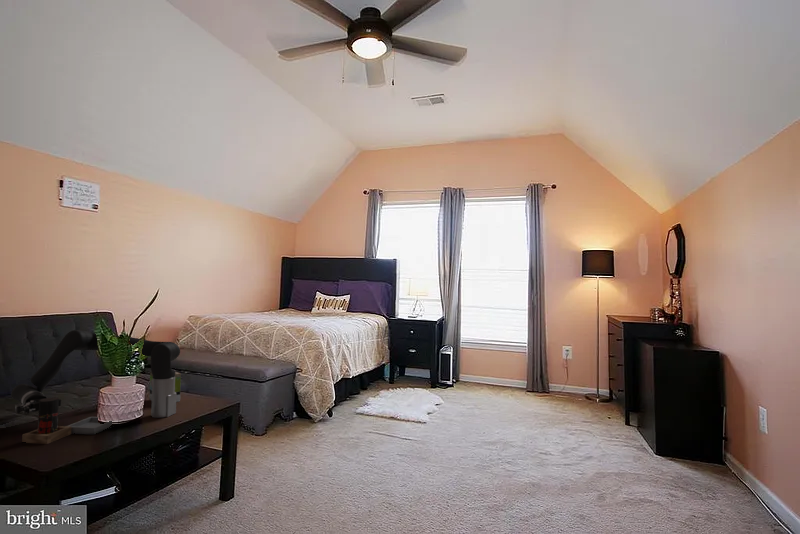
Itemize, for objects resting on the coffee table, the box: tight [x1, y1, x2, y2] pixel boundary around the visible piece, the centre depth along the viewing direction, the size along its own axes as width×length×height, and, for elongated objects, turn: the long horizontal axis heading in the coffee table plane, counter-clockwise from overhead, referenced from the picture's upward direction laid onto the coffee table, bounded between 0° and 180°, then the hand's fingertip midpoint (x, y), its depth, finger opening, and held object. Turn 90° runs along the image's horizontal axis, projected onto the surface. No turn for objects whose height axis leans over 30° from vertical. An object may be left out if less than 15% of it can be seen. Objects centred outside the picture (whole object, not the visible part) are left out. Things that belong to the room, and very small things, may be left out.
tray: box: [67, 416, 112, 435], centre depth 176 cm, size 13×13×2 cm
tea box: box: [148, 371, 182, 403], centre depth 218 cm, size 15×10×15 cm, turn 50°
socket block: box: [21, 425, 72, 445], centre depth 164 cm, size 10×10×3 cm
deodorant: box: [37, 396, 60, 434], centre depth 164 cm, size 6×6×15 cm
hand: (42, 408), depth 171 cm, fingers open, 8 cm apart
